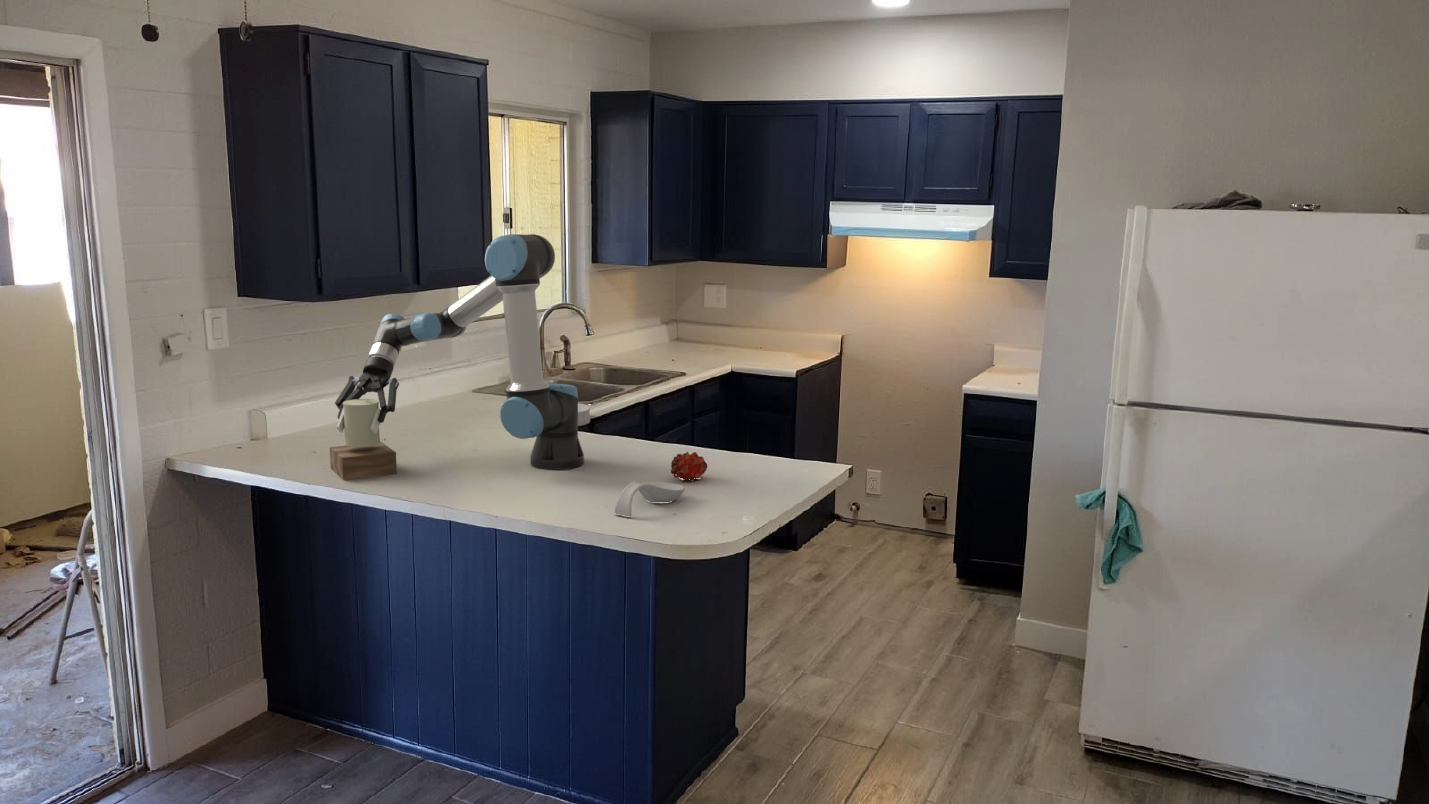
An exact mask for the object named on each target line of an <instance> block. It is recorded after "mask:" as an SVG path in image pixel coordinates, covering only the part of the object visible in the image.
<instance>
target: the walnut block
mask: <svg viewBox="0 0 1429 804" xmlns="http://www.w3.org/2000/svg"><path fill="white" fill-rule="evenodd" d="M329 461H330V469H331V470H332V471H333V473H335V474H336V475H337V476H338V477H339V478H340V479H342V481H347V480H349V481H350V480H356V479H357V478H358V479H364V478H365V477H366V478H374V477H381V476H382V477H383V476H390V475H397V474H398V471H397V468H398V466H397V452H396V451H395V450H394V449H392V448H391V447H389V446H388V445H387V444H385V443H384V442H383V441H380V444H378V445H376V446H371V447H348V446H346V445H339V446H329Z"/></svg>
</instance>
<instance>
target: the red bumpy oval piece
mask: <svg viewBox="0 0 1429 804" xmlns="http://www.w3.org/2000/svg"><path fill="white" fill-rule="evenodd" d="M670 465H671V466H670V467H671V469H670V474H671V475H673V478H678V479H679V477H680V478H683V479H685V480H687V479H690V480H694V478H699V477H702V476H703V475H704V474H705V472H706V471H707V469H708V467H709V466H708V463H707V462H706V461H705V457H703V456H702V455H701V456H700V455H698V453H697V452H696V451H694V452H692V453H691V454H690V453H689V452H688V451H686V452H685V453H684V452H683V454H682V453H677V454H676V456H674V457H673V459H671V463H670ZM694 481H695V480H694Z"/></svg>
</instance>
